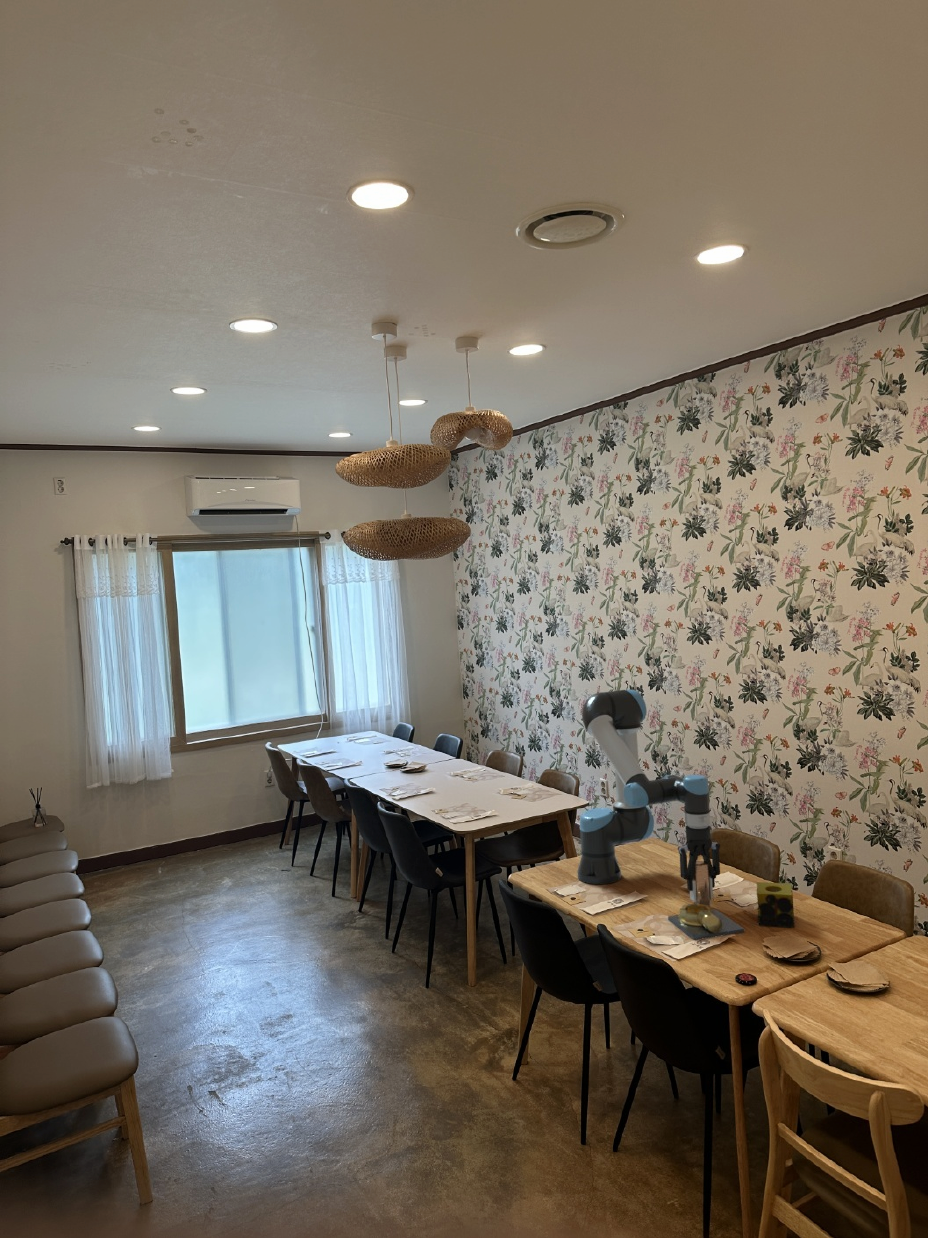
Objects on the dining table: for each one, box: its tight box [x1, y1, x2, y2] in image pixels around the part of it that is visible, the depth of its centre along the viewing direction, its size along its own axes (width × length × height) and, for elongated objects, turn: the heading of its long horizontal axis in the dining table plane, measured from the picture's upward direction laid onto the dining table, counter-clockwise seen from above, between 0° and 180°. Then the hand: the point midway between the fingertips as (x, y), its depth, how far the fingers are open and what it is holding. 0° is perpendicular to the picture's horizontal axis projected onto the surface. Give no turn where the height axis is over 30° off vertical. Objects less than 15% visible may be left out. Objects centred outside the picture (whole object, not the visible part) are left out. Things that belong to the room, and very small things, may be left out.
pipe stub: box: [693, 860, 711, 907], centre depth 264 cm, size 5×5×14 cm
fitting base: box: [667, 902, 745, 941], centre depth 251 cm, size 16×16×5 cm
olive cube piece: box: [756, 881, 795, 929], centre depth 251 cm, size 10×10×10 cm
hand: (701, 899), depth 264 cm, fingers closed on pipe stub, 5 cm apart
